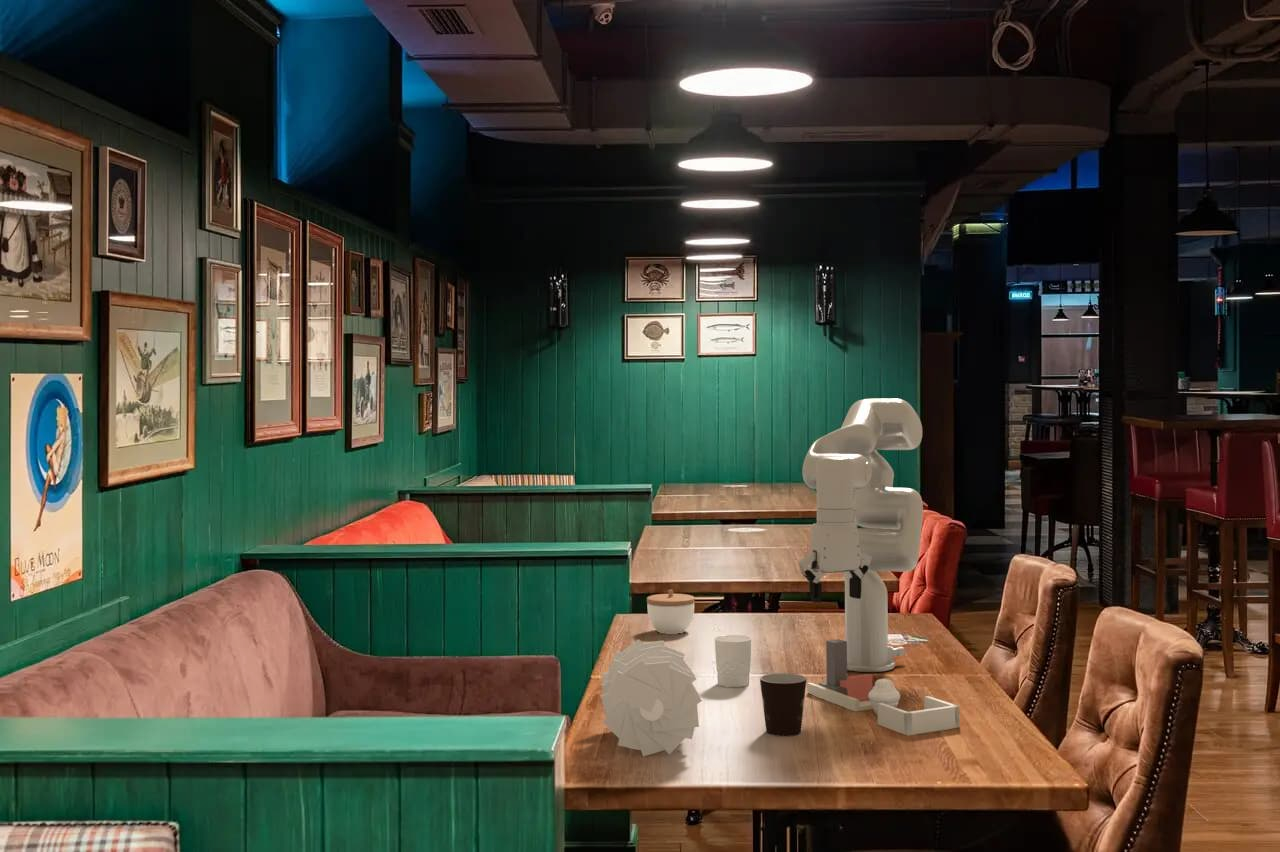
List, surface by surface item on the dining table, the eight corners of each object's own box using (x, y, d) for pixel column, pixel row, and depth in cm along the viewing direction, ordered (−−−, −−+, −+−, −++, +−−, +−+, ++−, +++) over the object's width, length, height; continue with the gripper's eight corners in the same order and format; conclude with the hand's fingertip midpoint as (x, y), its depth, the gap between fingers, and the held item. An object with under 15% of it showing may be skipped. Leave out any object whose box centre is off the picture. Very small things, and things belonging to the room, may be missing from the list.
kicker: (839, 686, 270) (838, 637, 269) (872, 698, 259) (872, 646, 259) (818, 689, 267) (817, 639, 267) (851, 701, 257) (850, 649, 257)
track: (839, 689, 272) (839, 678, 272) (888, 706, 257) (888, 695, 257) (807, 693, 269) (807, 683, 269) (855, 711, 253) (855, 700, 253)
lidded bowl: (695, 636, 333) (695, 593, 332) (646, 636, 333) (646, 594, 333) (694, 627, 345) (693, 586, 345) (647, 627, 345) (646, 586, 345)
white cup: (749, 689, 273) (749, 642, 273) (712, 687, 275) (712, 641, 275) (753, 680, 281) (753, 635, 281) (717, 679, 283) (717, 634, 282)
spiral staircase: (669, 745, 245) (678, 778, 220) (585, 707, 245) (584, 735, 220) (709, 658, 246) (723, 680, 221) (625, 619, 246) (629, 638, 221)
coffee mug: (794, 740, 233) (794, 685, 233) (752, 734, 238) (751, 680, 238) (821, 725, 243) (820, 673, 243) (779, 719, 248) (779, 668, 247)
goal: (928, 716, 249) (928, 696, 249) (959, 727, 241) (959, 706, 241) (877, 724, 243) (877, 703, 243) (907, 735, 235) (907, 713, 235)
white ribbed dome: (866, 709, 255) (865, 674, 254) (897, 709, 254) (897, 674, 254) (870, 717, 248) (870, 681, 248) (902, 717, 248) (902, 681, 248)
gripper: (859, 513, 272) (859, 594, 272) (789, 517, 264) (790, 600, 265) (880, 516, 265) (881, 599, 266) (809, 520, 258) (810, 605, 258)
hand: (835, 599), depth 265 cm, fingers open, 9 cm apart
